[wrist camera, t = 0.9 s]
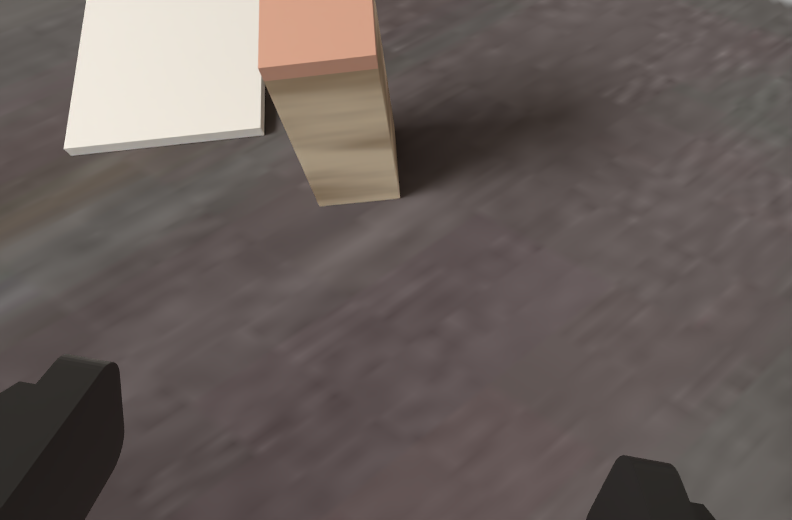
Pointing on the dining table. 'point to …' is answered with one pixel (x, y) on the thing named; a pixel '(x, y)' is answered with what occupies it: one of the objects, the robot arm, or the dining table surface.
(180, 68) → the mat
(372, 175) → the maple block
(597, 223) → the dining table surface
